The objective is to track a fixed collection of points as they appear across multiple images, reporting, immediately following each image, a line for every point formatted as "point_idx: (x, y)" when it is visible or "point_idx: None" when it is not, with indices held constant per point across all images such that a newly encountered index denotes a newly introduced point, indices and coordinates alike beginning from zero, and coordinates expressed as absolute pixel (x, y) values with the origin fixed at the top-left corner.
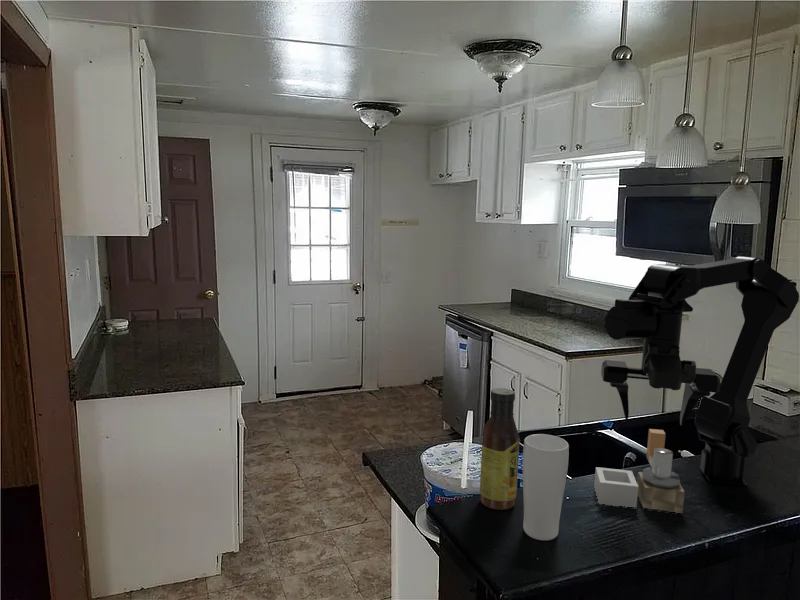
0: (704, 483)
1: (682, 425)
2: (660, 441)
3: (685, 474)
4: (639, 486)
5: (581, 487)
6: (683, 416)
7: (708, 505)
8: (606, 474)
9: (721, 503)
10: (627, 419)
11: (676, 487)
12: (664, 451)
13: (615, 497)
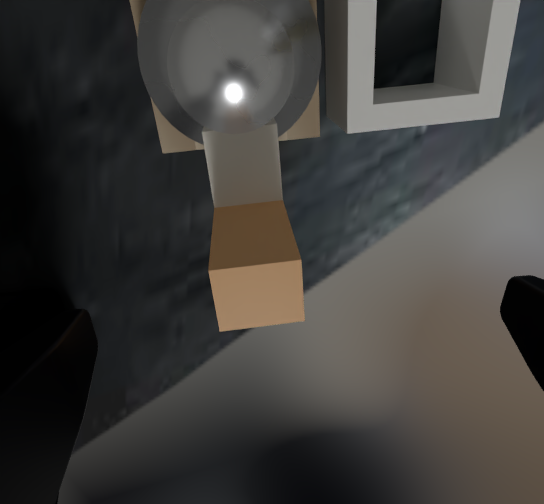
0: (72, 276)
1: (74, 310)
2: (236, 242)
3: (132, 316)
4: None
5: None
6: (33, 360)
7: (49, 104)
8: (450, 92)
9: (5, 140)
10: (514, 277)
11: None
12: (224, 75)
13: None
